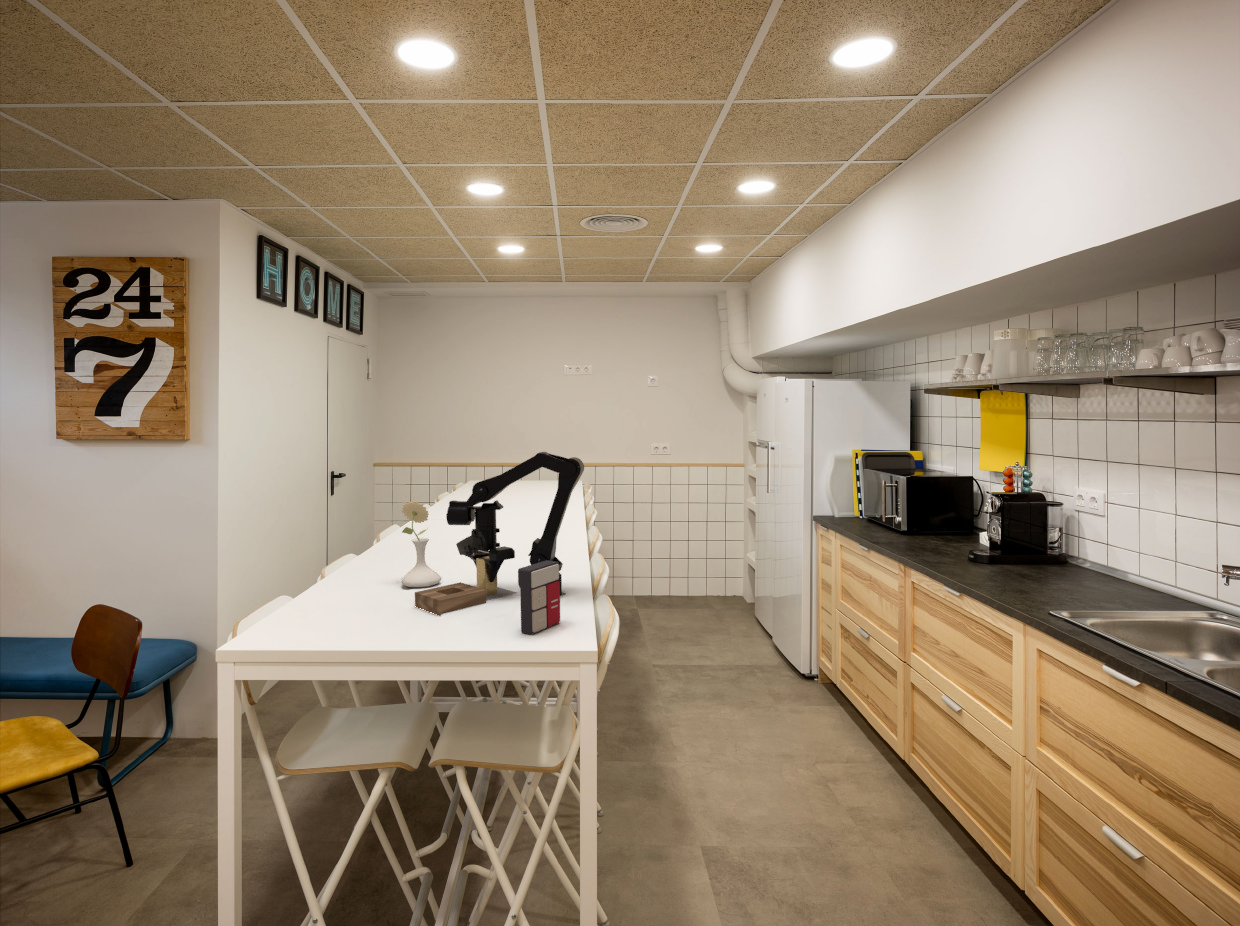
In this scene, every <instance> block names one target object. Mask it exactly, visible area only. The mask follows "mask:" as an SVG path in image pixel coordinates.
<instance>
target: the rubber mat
mask: <svg viewBox="0 0 1240 926" xmlns="http://www.w3.org/2000/svg"><path fill="white" fill-rule="evenodd" d="M515 594H518V592H517V591H513V590H509V589H506V588H503V587H499V586H497V593H495V594H491V595H487V596H486V602H487V601H489V600H494V599H497V598H498V599H499V598H503V597H506V596H511V595H515Z"/></svg>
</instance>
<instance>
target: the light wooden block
mask: <svg viewBox="0 0 1240 926" xmlns="http://www.w3.org/2000/svg"><path fill="white" fill-rule="evenodd" d="M487 558H489V556H484V557H479V558H476V565H475V567H476V566H477V568H476V587H478V588H482V589H485V590H486V596H487V595H491V594H495V593H497V587H498V574H497V575H496V577H495V580H494V582H490V581H489V574H488V565H487V563H486V562H485V561H484V560H483V559H487Z"/></svg>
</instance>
